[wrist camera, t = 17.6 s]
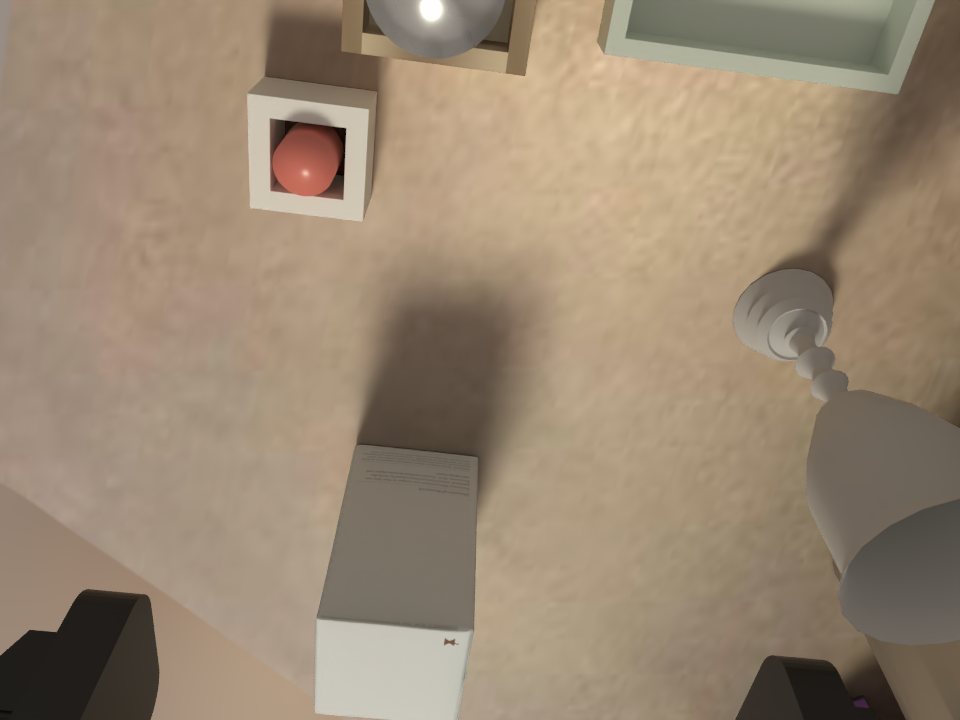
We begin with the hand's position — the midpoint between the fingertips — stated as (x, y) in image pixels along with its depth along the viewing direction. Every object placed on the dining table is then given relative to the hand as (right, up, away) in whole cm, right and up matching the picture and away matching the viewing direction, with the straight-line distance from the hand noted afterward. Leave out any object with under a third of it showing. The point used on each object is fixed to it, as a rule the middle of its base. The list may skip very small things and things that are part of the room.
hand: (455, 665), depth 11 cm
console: (-7, +14, +27) cm, 31 cm away
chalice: (+16, +7, +31) cm, 36 cm away
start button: (-7, +13, +25) cm, 30 cm away
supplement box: (-4, -4, +38) cm, 39 cm away
